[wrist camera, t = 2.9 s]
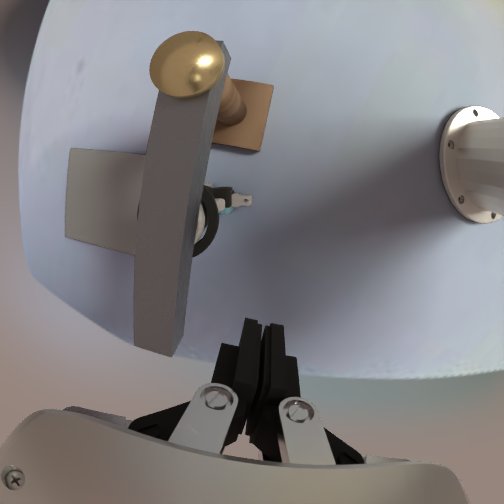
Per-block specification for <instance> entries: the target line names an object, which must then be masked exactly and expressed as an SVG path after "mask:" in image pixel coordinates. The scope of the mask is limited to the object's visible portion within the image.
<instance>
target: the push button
mask: <svg viewBox="0 0 504 504" xmlns="http://www.w3.org/2000/svg"><path fill="white" fill-rule="evenodd" d="M213 184H214V183H204V186H203V192H202V198H201V204H200V210H199V216H198V222H197V229H196V236H195V242H194V249H193V256H192V258H193V257H195V256H197V255H199V254H200V253H202V252H203V251H204V250H205V249H206V248H207V247H208V246H209V245H210V244H211V242H212V241H213V239H214V237H215V235H216V233H217V229H218V224H219V214H230V213H231V212H232V210H233V209H234V207H239V206H251V204H252V195H240V193H234V190H232V187H219V188H211V185H213ZM244 199H247V200H248V202H245V201H244ZM139 204H140V202H139ZM138 213H139V205H138V211H137V219H138ZM207 225H208V226H207ZM206 227H207V230H206V233H205V235H204V237H203V238H202V239H201V240H199V238H200V237H201V235H202V233H203V231H204V229H205V228H206ZM198 240H199V241H198Z"/></svg>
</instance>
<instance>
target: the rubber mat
mask: <svg viewBox="0 0 504 504" xmlns="http://www.w3.org/2000/svg"><path fill="white" fill-rule="evenodd" d="M145 159H146V155H142V154H133V153H124V152H114V151H103V150H92V149H78V148H71V150H70V158H69V167H68V178H67V191H66V214H65V237H69V238H72V239H76V240H79V241H83V242H86V243H90V244H94V245H97V246H101V247H105V248H109V249H112V250H116V251H120V252H124V253H128V254H131V255H135V250H136V236H137V224H138V219H137V211H138V205H139V202H140V195H141V187H142V180H143V172H144V166H145Z"/></svg>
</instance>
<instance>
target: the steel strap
mask: <svg viewBox="0 0 504 504" xmlns="http://www.w3.org/2000/svg"><path fill="white" fill-rule="evenodd" d="M230 60H231V57H230V55H229V53H228V51H227V49H226V46H225V44H224V42H223V41H215V40H214V39H213V38H212V37H211V36H209V35H207V34H205V33H202V32H198V31H187V32H182V33H179V34H176V35H174V36H172V37H170V38H169V39H167V40H166V41H164V42H163V43H162V44H161V45H160V46H159V47H158V48H157V50H156V51H155V53H154V55H153V57H152V59H151V63H150V77H151V80H152V82H153V84H154V85H155V86H156V87H157V88H158V89H159V93H158V97H157V102H156V106H155V111H154V116H153V120H152V125H151V131H150V136H149V141H148V147H147V153H146V159H145V166H144V172H143V180H142V187H141V195H140V204H139V213H138V224H137V236H136V250H135V270H134V346H137V347H140V348H143V349H146V350H149V351H152V352H156V353H159V354H162V355H166V356H169V357H172V356H173V354H174V352H175V350H176V348H177V346H178V344H179V342H180V340H181V339H182V337H183V333H184V323H185V314H186V304H187V296H188V287H189V279H190V271H191V264H192V256H193V249H194V242H195V236H196V229H197V222H198V216H199V210H200V204H201V198H202V192H203V186H204V181H205V175H206V170H207V164H208V159H209V154H210V149H211V144H212V139H213V134H214V129H215V125H216V120H217V115H218V111H219V106H220V102H221V98H222V93H223V89H224V85H225V81H226V76H227V72H228V68H229V64H230Z"/></svg>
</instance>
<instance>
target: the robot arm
mask: <svg viewBox="0 0 504 504" xmlns="http://www.w3.org/2000/svg"><path fill="white" fill-rule="evenodd" d="M439 158H440V170H441V175H442V180H443V183H444V186H445V189H446V192H447V194H448V196H449V198H450V200H451V202H452V203H453V205H454V206H455V208H456V209H457V210H458V211H459V212H460V213H461V214H462V215H463V216H465V217H466V218H468V219H470V220H472V221H475V222H477V223H483V224H486V223H492V222H494V221H496V220H498V219H500V218H501V217H502V216H504V118H499V117H498V116H497V115H496V114H495V113H494V112H492V111H491V110H489V109H487V108H485V107H481V106H469V107H464V108H462V109H460V110H458V111H456V112H455V113H454V114H453V115H452V116H451V117H450V119H449V120H448V122H447V124H446V126H445V128H444V131H443V133H442V138H441V143H440V154H439ZM261 333H262V325H261V324H258V320H253V319H248V318H245V321H244V326H243V330H242V334H241V339H240V343H239V347H238V346H234V345H229V344H224V343H222V344H221V347H220V351H219V355H218V358H217V362H216V366H215V370H214V374H213V377H212V381H211V383H209V384H205V385H203V386H201V387H200V388H199V389H198V390H197V391H196V393H195V395H194V397H193V399H192V400H191V401H189V402H186V403H183V404H180V405H177V406H175V407H172V408H169V409H165V410H162V411H159V412H156V413H153V414H149V415H147V416H143V417H140V418H137V419H136V420H134V421H131V420H126V417H123V416H118V415H113V414H107V413H103V412H98V411H93V410H89V409H85V408H81V407H75V406H71V407H67V408H65V409H63V410H55V409H45V410H40V411H37V412H34V413H32V414H31V415H29V416H28V417H27V418H25V419H24V420H23V421H22V422H21V423H20V424H19V425H18V426H17V427H16V428H15V429H14V430H13V431H12V433H11V434H10V435H9V436H8V437H7V439H6V440H5V441H4V443H3V444H2V445H1V447H0V504H471V503H470V501H469V498H468V495H467V493H466V491H465V489H464V487H463V485H462V483H461V481H460V479H459V478H458V476H457V475H456V473H455V472H454V471H453V470H452V469H450V468H449V467H447V466H444V465H441V464H437V463H432V462H421V461H409V460H405V459H395V458H386V457H379V456H371V455H366V456H365V457H362V456H361V454H359V453H358V452H357V451H356V450H354V449H353V448H352V447H350V446H349V445H347V444H346V443H345V442H343V441H342V440H340V439H339V438H338V437H336V436H335V435H334V434H332V433H331V432H329V431H328V430H327V429H325V428H324V427H323V424H322V421H321V418H320V415H319V413H318V410H317V408H316V406H315V405H314V404H313V403H312V402H310V401H308V400H306V399H304V398H301V397H300V386H299V376H298V366H297V359H296V357H292V356H286V354H285V337H284V326H283V325H278V324H273V323H271V324H270V326H265V329H264V332H263V336H262V340H261ZM246 420H247V424H246V432H245V434H246V435H249V436H250V443H253V444H254V445H255V446H256V447H257V448H258V449H259V452H258V457H259V460H254V459H247V458H241V457H235V456H228V455H223V452H224V449H225V446H227V445H229V444H231V443H233V442H235V441H236V440H237V437H238V434H242V431H243V428H244V426H245V422H246Z"/></svg>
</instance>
